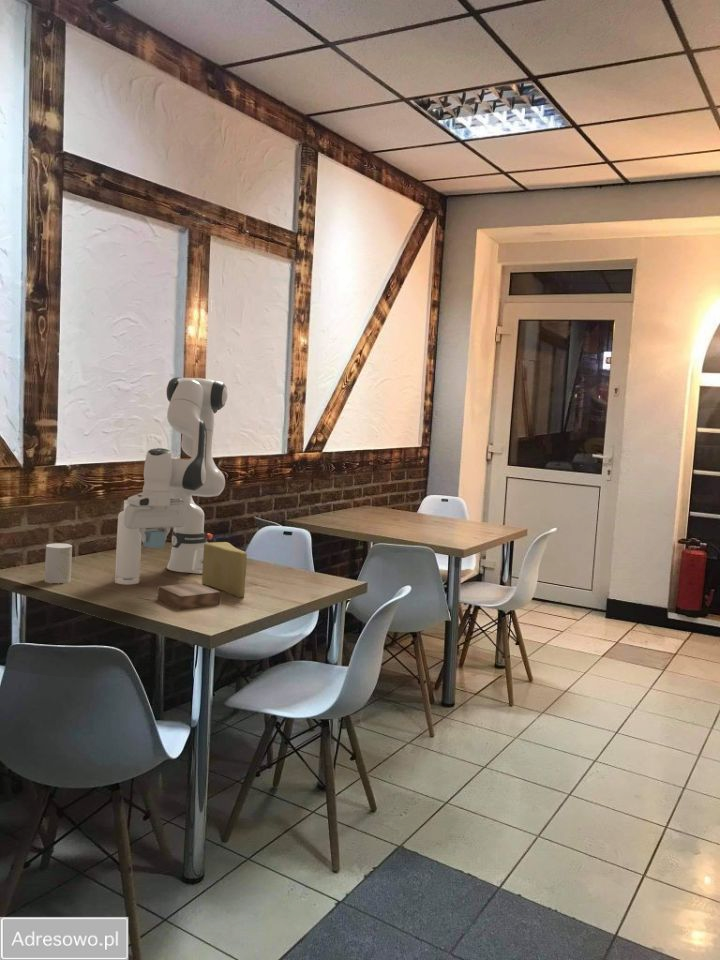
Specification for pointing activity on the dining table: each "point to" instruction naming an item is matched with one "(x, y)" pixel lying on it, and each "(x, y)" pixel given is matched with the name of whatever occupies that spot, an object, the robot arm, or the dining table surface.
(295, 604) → the dining table surface
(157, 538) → the cube
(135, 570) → the bottle
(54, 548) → the cup
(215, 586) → the cheese
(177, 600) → the riser
